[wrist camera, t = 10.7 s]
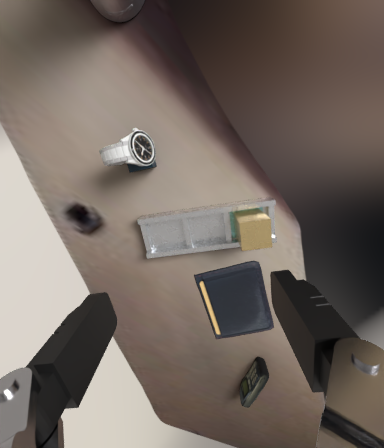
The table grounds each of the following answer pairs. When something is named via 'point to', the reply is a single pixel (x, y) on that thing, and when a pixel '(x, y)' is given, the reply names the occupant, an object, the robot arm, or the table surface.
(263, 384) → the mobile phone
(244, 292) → the dark blue notebook
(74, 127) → the table surface
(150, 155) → the watch
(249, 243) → the tan block
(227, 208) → the tray with compartments
